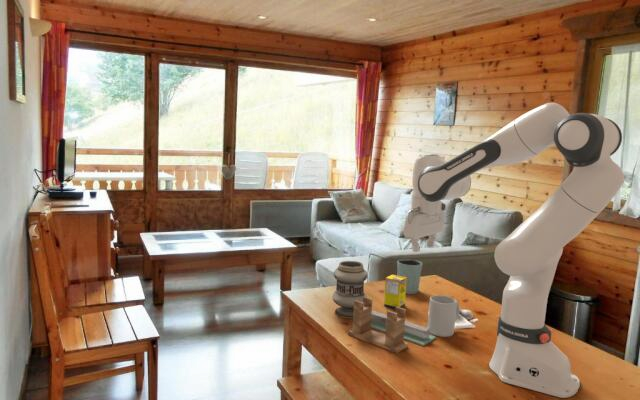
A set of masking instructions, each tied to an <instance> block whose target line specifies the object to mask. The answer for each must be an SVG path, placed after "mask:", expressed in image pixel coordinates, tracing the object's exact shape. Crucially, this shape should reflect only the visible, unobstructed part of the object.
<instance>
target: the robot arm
mask: <svg viewBox="0 0 640 400" xmlns="http://www.w3.org/2000/svg"><path fill="white" fill-rule="evenodd" d="M622 140H623V133H622V130H621V128H620V126H619V125H618V124H617V123H616V122H615V121H613V120H612V119H609V118H607V117H604V116H602V115H600V114H596V113H588V112H587V113H586V112H576V113H573V114H570V113H569V112H568V110H567V109H566V108H565V107H564V106H562V105H561V104H559V103H556V102H547V103H546V102H545V103H544V104H542V105H539V106H537V107H535V108H533V109H530V110H529V111H526V112H525V113H523V114H521V115H520V116H518V117H517V118H515V119H513V120H512V121H511V122H509V123H507V124H506V125H504V126H503V127H502V128H500V129H499V130H497V131H496V132H494V133H493V134H491V135H490V136H488V137H487V138H485V139H484V140H482V141H481V142H479V143H477V145H474V146H473V147H470V148H469V149H467V150H466V151H464V152H462V153H460V154H458V155H457V156H455V157H453V158H452V159H449V160H448V161H447V160H445V159H443V157H442V156H441V155H439V154H425V155H421V156H418V157H417V158H416V159H415V161H414V164H413V167H412V168H413V169H412V170H413V171H412V179H411V180H412V181H411V182H412V187H413V189H412V193H411V205H410V206H411V207H410V210H409V211H408V213H407V215H406V216H405V222H404V226H403V227H404V230H403V236H404V238H405V239H409V240H410V243H411V245H412V252H415V253H418V252H420V251H421V245H419V242H420V238H421V239H422V238H423V237H424V238H425V237H428V241H426V247H427V248H429V249H431V248H434V247H435V241H436V239H437V234H439V233H441V232H443V231H444V226H445V218H446V217H445V216H446V214H445V211H447V204H446V203H445V202H443V201H442V200H453V199H458V198H461V197H463V196H466V195H467V194H468V193H469V191H470V190H471V186H472V178H471V175H474V174H475V173H477V172H479V171H482V170H485V169H488V168H495V167H500V166H501V167H502V166H503V167H504V166H511V165H517V164H519V163H523V162H525V161H528V160H530V159H533V158H535V157H536V156H537V155H540V154H541V153H543V152H544V151H547V150H548V149H550V148H553V147H554V146H556V148H557V150H558V151H559V152H560V154H561V155H562V156H563V157H564V159H565V160H566V162H567V163H568V165H570V166H571V167H573V168H572V171H571V172H570V173H569V175H568V176H567V177H566V178H565V180H563V182H562V183H561V184H560V185H559V186H558V187H557V188H556V189H555V190H554V192H553V193H552V194H550V196H549V197H548V199H547V200H545V202H544V203H543V204H541V206H540V207H539V208H537V209H536V211H534V212H533V213H532V214H531V215H530V216H528V218H526V219H525V220H524V221H523V222H522V223H520V224H519V225H518V226H517V227H516V228H515V229H514V230H513V231H512V232H511V233H510V234H509V235H508V236H507V237H505V238H504V239H502V240H501V242H499V243H498V244H497V246H496V247H495V249H494V255H493V257H494V261H495V264H496V266H497V267H498V269H499V270H500V271H501V272H502V273H503V274H506V275H507V276H509V279H508V280H507V283H506V285H505V286H504V289H503V291H502V299H501V300H502V301H501V310H500V316H499V317H498V321H497V328H496V336H497V339H496V342H495V343H496V344H495V348H494V349H493V350H494V351H493V354H492V356H491V359H490V361H489V365H488V366H489V368H490V370H492V372H494V373H495V374H496V375H497V376H498V378H499V379H500V381H501V382H503V383H506V384H509V385H514V386H517V387H520V388H525V389H528V390H531V391H535V392H539V393H543V394H546V395H549V396H554V397H557V398H560V399H565V398H566V399H567V398H570V397H573V396H574V395H575V394H577V392H578V391H579V390H580V386H581V385H580V382H581V381H580V379H579V378H578V376H577V375H575V374H574V373H573V374H572V367H571V361H570V359H569V358H568V357H569V356H567V355H566V354H565V353H563V351H562V350H561V349H560V348H559V347H558V346H557V345H555V344H554V343H553V342H552V340H551V339H552V334H553V328H550V329H549V328H548V327H547V326H546V324H545V321H546V313H547V306H548V305H547V304H548V298H549V294H550V291H551V287H552V285H553V282H554V277H555V274H556V270H557V267H558V264H559V261H560V259H561V256H562V254H563V252H564V251H563V250H564V247H565V246H566V245H567V244H569V243H570V242H571V241H573V239H576V238H577V236H579V235H580V234H581V232H583V231H584V230H585V229H586V227H588V226H589V224H591V222H593V221H594V219H595V218H596V217H598V216H599V215H600V213H601V212H602V211H603V210H604V209H605V208H606V207H607V206H608V205H609V204H610V203H611V201H612V200H613V199H614V197H615V196H616V195H617V193H618V192H619V190H620V189H621V187H622V186H623V184H624V181H625V174H624V172H623V170H622V168H621V167H620V166H619V164H617V163H616V162H615V161H613V159H612V157H611V156H613V155H614V154H616V152H618V150H619V148H620V146H621V145H622ZM578 389H579V390H578Z"/></svg>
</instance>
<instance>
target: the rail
mask: <svg viewBox="0 0 640 400" xmlns="http://www.w3.org/2000/svg"><path fill="white" fill-rule="evenodd" d="M386 321H387V314H385V313H382V312H379V311H376V310H374V309H372V314H371V323H374V324H377V325H380V326H383V327H386ZM404 334H406V335H409V336H412V337H415V338H418V339H420V340H423V341H425V340H427V339H428V338H429V335H431V333H430V329H429V328H427V326H426V327H425V326H423V325H420V324H416V323H413V322H410V321H407V320H405V328H404Z"/></svg>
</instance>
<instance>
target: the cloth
mask: <svg viewBox="0 0 640 400" xmlns="http://www.w3.org/2000/svg"><path fill="white" fill-rule="evenodd" d="M459 308H460V310H459V316H458V318H457V320H456V321H455V327H454V330H458V329H459V330H460V329H474V328H477V327H476V325H475V323H476V322H478V321H479V319H478V318H473V317H474V315H473V312H472V311H471V310H470V309H462V308H461V307H460V306H459ZM427 314H428V316H429V311H428V312H427ZM468 320H469V321H468ZM473 323H474V324H473Z"/></svg>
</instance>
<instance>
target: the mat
mask: <svg viewBox="0 0 640 400" xmlns="http://www.w3.org/2000/svg"><path fill="white" fill-rule="evenodd" d="M371 329H374V330H377V331H379V332H383V333H384V334H386V327H383V326H380V325H377V324H374V323H371ZM404 340H405V341H408V342H410V343H413V344H416V345H419V346H421V347H424V346H426V345H427V344H429V343H431V342H433V341H434V340H436V335H433V334H429V338H428V339H427V340H425V341H423V340H420V339H418V338H415V337H412V336H409V335H406V334H404Z"/></svg>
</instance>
